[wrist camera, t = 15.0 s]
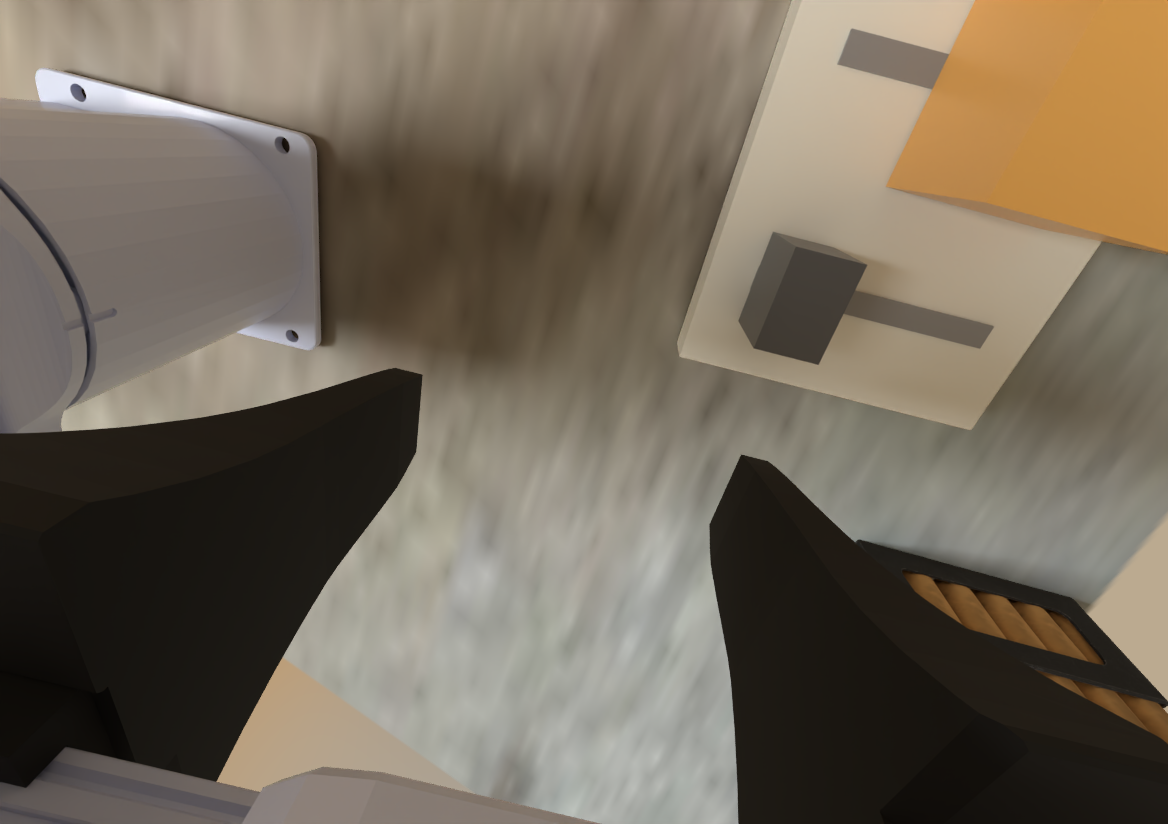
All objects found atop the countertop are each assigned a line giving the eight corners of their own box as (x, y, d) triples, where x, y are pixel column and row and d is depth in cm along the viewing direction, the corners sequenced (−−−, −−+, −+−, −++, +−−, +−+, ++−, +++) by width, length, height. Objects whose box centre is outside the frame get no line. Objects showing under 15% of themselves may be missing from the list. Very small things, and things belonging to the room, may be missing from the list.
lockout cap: (885, 186, 15) (986, 202, 11) (1011, -76, 12) (1219, -202, 8) (1044, 229, 15) (1209, 263, 11) (1206, -21, 12) (1517, -115, 8)
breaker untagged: (738, 321, 17) (753, 348, 15) (772, 231, 16) (796, 246, 14) (794, 335, 17) (818, 364, 15) (833, 247, 16) (867, 264, 14)
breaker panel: (676, 342, 20) (679, 357, 18) (827, -106, 14) (849, -135, 12) (948, 411, 20) (972, 431, 18) (1218, 0, 14) (1285, -17, 12)
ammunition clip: (1075, 598, 23) (1431, 970, 13) (1047, 624, 24) (1360, 991, 14) (856, 538, 23) (1037, 868, 13) (836, 567, 24) (990, 898, 13)
